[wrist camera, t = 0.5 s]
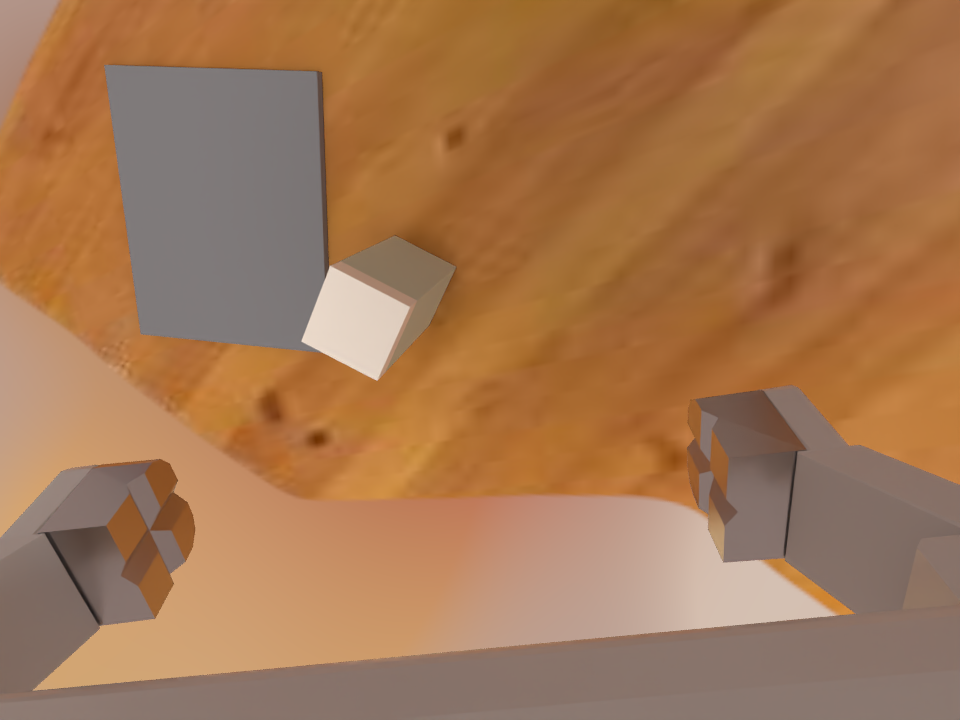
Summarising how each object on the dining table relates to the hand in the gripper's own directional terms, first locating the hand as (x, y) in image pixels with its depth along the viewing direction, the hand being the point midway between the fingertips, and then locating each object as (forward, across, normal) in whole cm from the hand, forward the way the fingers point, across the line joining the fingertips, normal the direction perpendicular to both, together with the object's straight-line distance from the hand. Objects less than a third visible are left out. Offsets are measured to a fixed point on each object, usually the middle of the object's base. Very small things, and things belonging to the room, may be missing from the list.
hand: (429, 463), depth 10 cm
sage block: (+37, +6, +11) cm, 39 cm away
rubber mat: (+41, +19, +5) cm, 45 cm away
